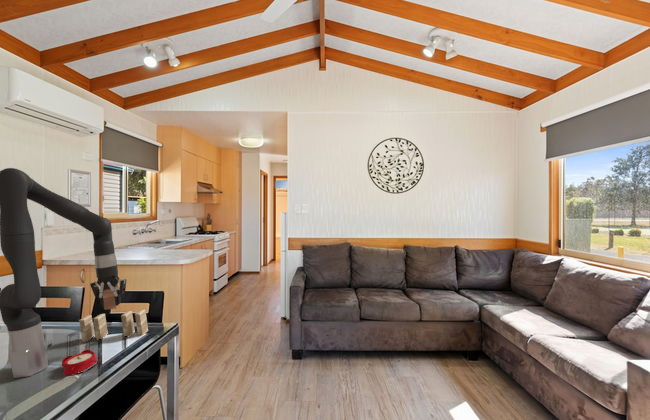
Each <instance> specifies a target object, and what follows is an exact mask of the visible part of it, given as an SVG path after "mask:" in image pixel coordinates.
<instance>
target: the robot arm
mask: <svg viewBox="0 0 650 420" xmlns="http://www.w3.org/2000/svg"><path fill="white" fill-rule="evenodd" d="M28 200H29V201H32V202H34V203H37V204H39V205H40V206H42V207H44V208H46V209H48V210H50V211H51V212H53V214H56V215H58V216H59V217H62V218H64V219H65V220H68V221H70V222H72V223H73V224H77V225H79V226H81V227H82V228H84V229H86V230H87V231H89V232H91V233H92V238H93V254H94V255H93V256H94V267H95V275H96V278H97V279H96V281H93V282H91V283H90V284H89V285H90V288H91V290H92V293H93V295H94V297H98V298H99V299H100V300H99V301H100V305H101V306H102V307H104V301H103V292H104V290H107V289H111V291H112V292H113V293H114V295H115V304H116V305H119V306H120V305H121V303H122V297H121V296H122V295H123V294H124V293H126V288H127V287H126V286H127V279H126V278H124V279H121V278H119V269H118V262H117V256H116V251H115V246H114V245H115V244H114V242H113V232H112V231H113V229H112V222H111V221H110V219H108V218H107V217H103V216H101V215H98V214H96V213H94V212H93V211H90V209H88V208H86V207H85V206H83V205H81V204H79V203H77V202H75V201H74V200H71V199H69V198H67V197H65V196H62V195H60V194H58V193H56V192H54V191H51V190H50V189H47V188H46V187H44V186H43V185H41V184H39V182H37V181H36V180H34V179H33V178H32V177H30V175H28V174H27V173H26V172H24V171H22V170H21V169H18V168H13V167H8V168H7V167H6V168H3V169H2V170H0V250H1V252H2V254H3V257H4V258H5V260H6V261H7V263H8V265H9V266H10V268H11V271H12V273H13V283H11V284H8V285H5V287H3V288H2V289H1V291H0V314H1V315H0V316H1V318H2V319H1V320H2V322H3V323H4V325H5V326H6V329H7V334H8V340H9V344H10V345H9V346H10V350H11V351H10V352H8V353H9V354H8V355H9V359H10V360H9V361H10V367H11V372H12V378H14V379H17V378H24V377H26V378H27V377H32V376H33V375H34V374H37V373H40V372H41V371H43V370H46V368H47V367H48V366H49V362H48V355H47V350H46V344H45V337H44V332H43V326H42V319H41V316H40V314H38V313H37V312H35V311H34V310H33V308H34V307H35V306H37V305H38V304H39V302H40V300H41V298H42V288H41V284H40V278H39V277H40V276H39V273H38V267H37V256H36V240H35V228H34V224H33V222H32V218H31V215H30V212H29V208H28ZM116 286H117V288H116V289H115V288H114V287H116ZM116 290H117V291H116Z"/></svg>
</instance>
